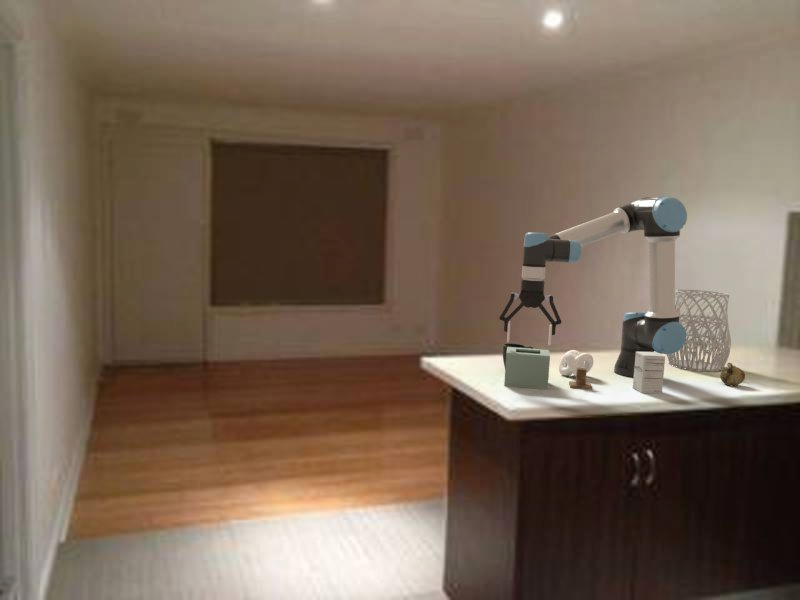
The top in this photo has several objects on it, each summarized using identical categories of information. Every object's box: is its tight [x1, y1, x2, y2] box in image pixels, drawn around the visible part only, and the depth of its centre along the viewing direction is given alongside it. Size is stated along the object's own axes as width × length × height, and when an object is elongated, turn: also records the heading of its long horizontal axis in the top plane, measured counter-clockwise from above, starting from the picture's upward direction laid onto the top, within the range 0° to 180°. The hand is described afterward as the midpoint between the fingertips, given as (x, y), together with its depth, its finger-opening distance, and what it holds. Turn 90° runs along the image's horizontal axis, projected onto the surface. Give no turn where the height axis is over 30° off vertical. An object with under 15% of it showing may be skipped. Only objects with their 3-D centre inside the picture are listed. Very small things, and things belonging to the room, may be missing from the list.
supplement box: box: [632, 351, 666, 395], centre depth 248 cm, size 7×7×13 cm
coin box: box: [503, 347, 551, 390], centre depth 250 cm, size 14×12×11 cm
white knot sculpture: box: [558, 349, 594, 377], centre depth 266 cm, size 11×12×9 cm
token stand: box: [568, 368, 593, 390], centre depth 250 cm, size 7×7×6 cm
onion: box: [719, 362, 746, 386], centre depth 265 cm, size 8×8×8 cm
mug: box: [502, 343, 534, 368], centre depth 271 cm, size 8×12×10 cm
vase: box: [666, 289, 732, 372], centre depth 298 cm, size 24×24×30 cm
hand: (528, 343), depth 249 cm, fingers open, 13 cm apart
